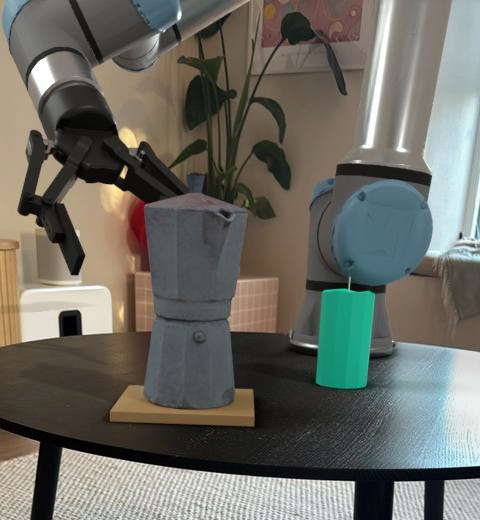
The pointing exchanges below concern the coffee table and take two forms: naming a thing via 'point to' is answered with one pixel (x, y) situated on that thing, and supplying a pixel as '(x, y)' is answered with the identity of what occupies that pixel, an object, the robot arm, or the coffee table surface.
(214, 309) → the moka pot
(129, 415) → the cork trivet
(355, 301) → the candle
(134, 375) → the coffee table surface
